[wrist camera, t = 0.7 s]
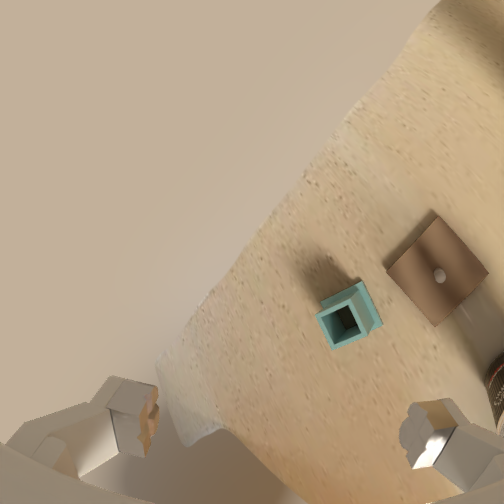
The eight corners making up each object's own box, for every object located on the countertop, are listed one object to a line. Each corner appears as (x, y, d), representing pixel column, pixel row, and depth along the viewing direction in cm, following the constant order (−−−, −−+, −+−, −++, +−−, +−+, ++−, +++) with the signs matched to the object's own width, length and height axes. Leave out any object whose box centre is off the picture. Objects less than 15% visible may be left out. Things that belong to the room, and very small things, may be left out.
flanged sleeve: (362, 280, 50) (353, 288, 43) (383, 323, 48) (376, 338, 42) (321, 301, 53) (306, 311, 47) (341, 342, 52) (329, 358, 46)
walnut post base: (438, 216, 43) (440, 214, 38) (487, 271, 39) (495, 277, 34) (386, 270, 48) (382, 276, 42) (434, 324, 44) (435, 336, 39)
